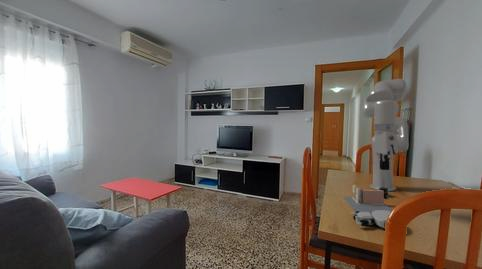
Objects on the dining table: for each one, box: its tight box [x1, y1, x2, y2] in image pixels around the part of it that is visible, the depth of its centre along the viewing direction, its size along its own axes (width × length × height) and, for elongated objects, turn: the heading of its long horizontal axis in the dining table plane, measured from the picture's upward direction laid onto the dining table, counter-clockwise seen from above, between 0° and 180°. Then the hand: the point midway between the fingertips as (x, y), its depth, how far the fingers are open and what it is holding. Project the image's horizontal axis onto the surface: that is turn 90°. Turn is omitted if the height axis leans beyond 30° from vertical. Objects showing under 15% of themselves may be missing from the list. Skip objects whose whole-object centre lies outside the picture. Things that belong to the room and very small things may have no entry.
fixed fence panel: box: [352, 184, 363, 204], centre depth 102 cm, size 9×2×7 cm, turn 169°
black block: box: [379, 187, 392, 200], centre depth 109 cm, size 12×7×5 cm, turn 131°
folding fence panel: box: [362, 189, 385, 204], centre depth 97 cm, size 9×1×6 cm, turn 81°
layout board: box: [343, 196, 393, 214], centre depth 97 cm, size 19×16×1 cm
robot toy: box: [350, 210, 391, 229], centre depth 78 cm, size 12×4×15 cm
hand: (384, 169), depth 92 cm, fingers closed
